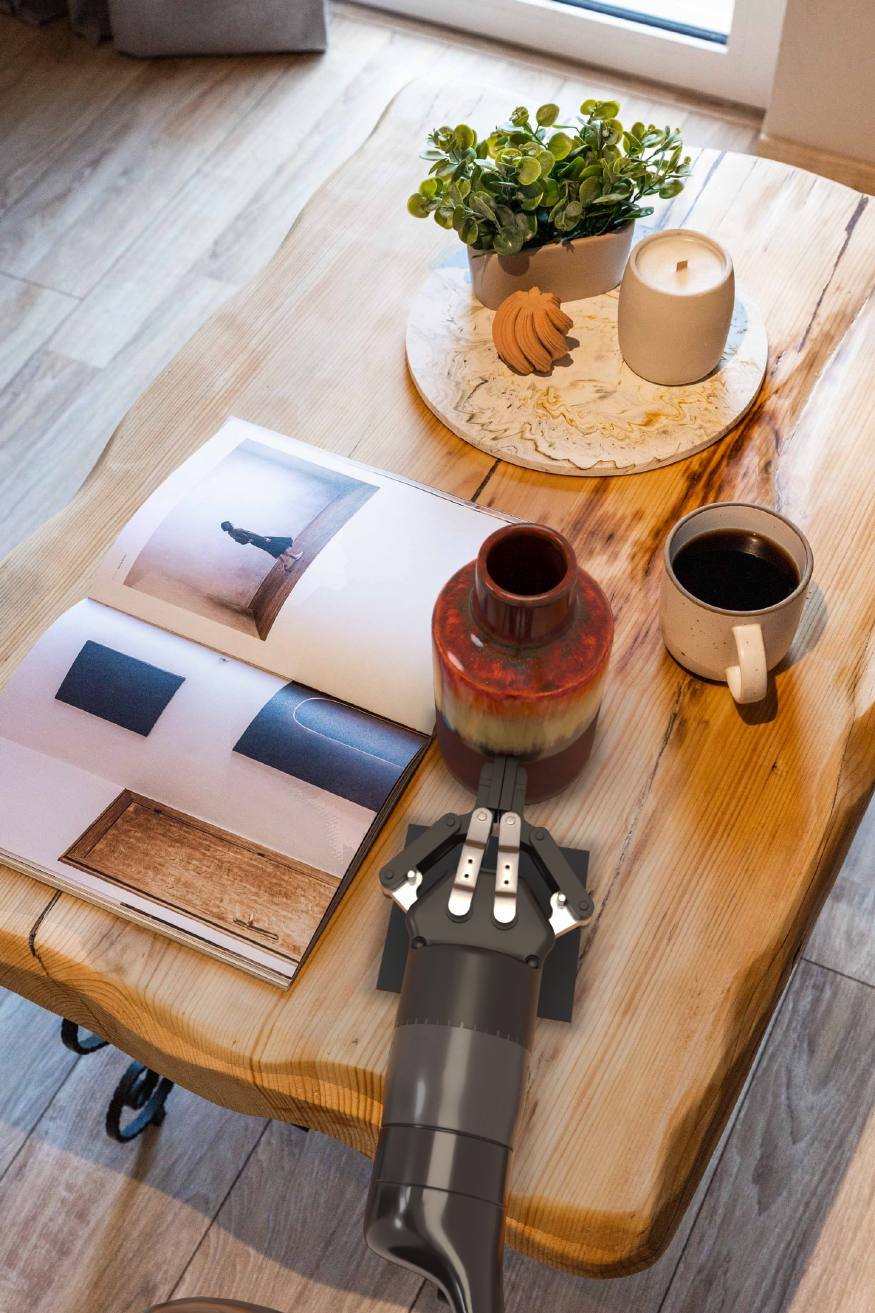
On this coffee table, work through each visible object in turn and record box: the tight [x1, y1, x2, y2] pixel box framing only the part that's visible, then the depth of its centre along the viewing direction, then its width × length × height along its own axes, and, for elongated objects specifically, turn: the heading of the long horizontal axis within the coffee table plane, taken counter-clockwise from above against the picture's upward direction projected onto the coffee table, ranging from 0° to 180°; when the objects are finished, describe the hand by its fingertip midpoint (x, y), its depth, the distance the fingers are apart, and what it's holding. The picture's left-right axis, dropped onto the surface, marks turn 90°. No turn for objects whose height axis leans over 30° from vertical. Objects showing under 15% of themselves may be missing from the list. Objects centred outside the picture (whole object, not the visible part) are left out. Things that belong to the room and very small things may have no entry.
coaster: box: [375, 823, 591, 1023], centre depth 70 cm, size 12×11×1 cm
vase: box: [430, 521, 615, 806], centre depth 68 cm, size 11×11×20 cm
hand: (506, 761), depth 68 cm, fingers closed
